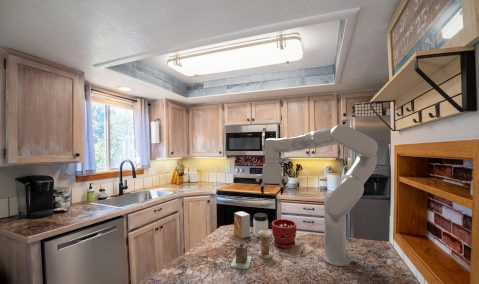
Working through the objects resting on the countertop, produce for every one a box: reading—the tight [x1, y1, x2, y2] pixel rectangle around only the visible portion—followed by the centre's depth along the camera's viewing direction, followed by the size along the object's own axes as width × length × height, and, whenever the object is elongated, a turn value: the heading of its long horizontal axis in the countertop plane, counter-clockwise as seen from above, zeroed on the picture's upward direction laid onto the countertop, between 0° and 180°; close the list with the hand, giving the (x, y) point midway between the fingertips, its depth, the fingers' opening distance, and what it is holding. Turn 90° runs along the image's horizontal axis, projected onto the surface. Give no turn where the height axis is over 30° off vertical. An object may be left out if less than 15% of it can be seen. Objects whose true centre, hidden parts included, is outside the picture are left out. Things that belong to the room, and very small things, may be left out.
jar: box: [252, 212, 269, 238], centre depth 134 cm, size 9×8×12 cm
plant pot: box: [271, 218, 297, 249], centre depth 120 cm, size 13×13×12 cm
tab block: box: [235, 241, 248, 264], centre depth 101 cm, size 4×4×8 cm
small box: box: [233, 211, 251, 239], centre depth 133 cm, size 8×6×13 cm
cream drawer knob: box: [257, 229, 273, 260], centre depth 108 cm, size 7×7×11 cm
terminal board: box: [230, 254, 253, 270], centre depth 101 cm, size 8×10×1 cm
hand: (272, 194), depth 116 cm, fingers open, 9 cm apart
